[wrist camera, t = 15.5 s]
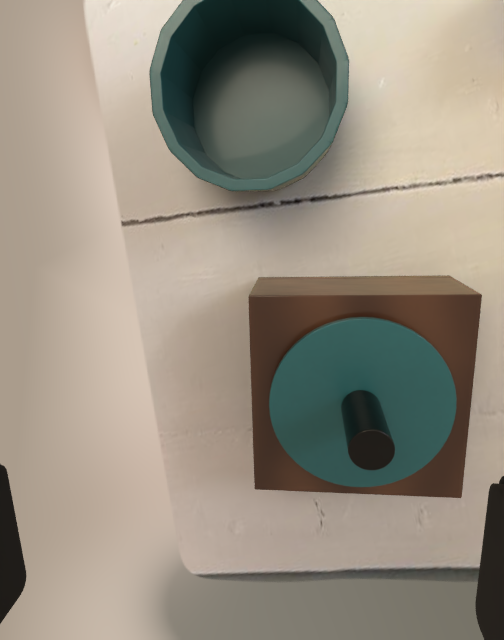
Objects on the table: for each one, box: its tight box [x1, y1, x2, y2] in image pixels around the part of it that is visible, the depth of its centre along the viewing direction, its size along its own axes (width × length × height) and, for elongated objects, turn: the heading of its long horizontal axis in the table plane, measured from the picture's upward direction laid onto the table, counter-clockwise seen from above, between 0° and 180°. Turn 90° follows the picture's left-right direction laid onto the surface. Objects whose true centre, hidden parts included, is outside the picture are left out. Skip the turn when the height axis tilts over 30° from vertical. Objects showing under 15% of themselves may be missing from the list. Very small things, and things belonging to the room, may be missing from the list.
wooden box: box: [249, 276, 482, 498], centre depth 36 cm, size 15×15×7 cm
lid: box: [269, 317, 457, 487], centre depth 30 cm, size 12×12×7 cm
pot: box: [150, 0, 349, 191], centre depth 31 cm, size 11×11×8 cm
